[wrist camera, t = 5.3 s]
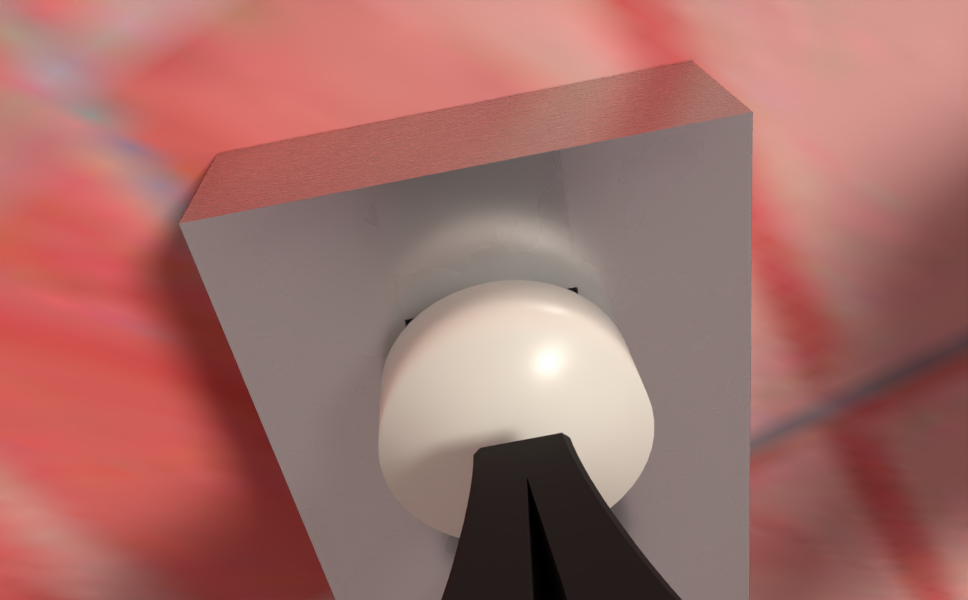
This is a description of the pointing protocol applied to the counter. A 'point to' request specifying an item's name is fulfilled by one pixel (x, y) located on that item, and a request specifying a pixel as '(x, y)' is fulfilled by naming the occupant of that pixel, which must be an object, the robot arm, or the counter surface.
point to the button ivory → (507, 393)
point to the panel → (489, 258)
